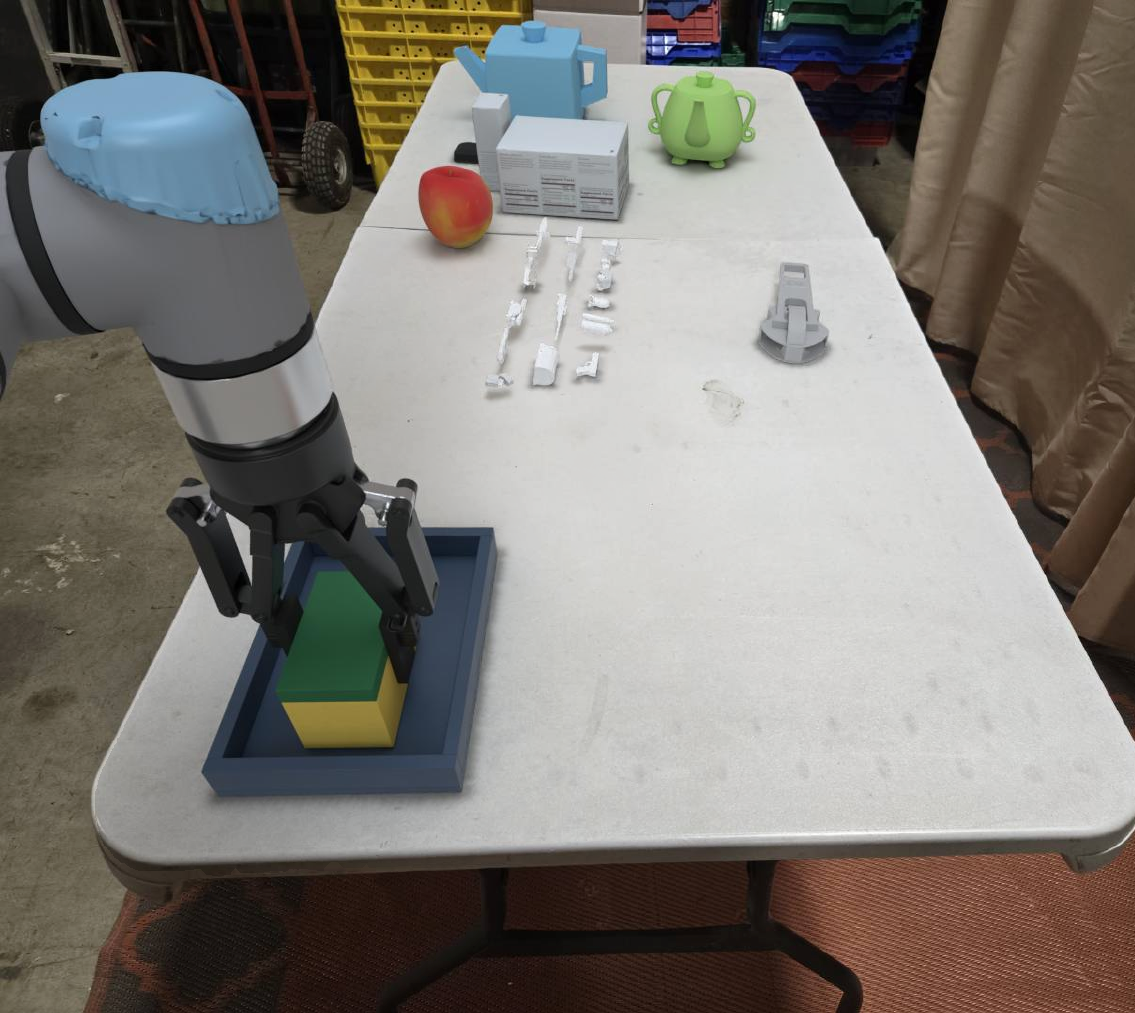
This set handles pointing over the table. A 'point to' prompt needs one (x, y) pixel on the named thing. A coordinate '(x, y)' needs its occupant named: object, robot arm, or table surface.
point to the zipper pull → (793, 320)
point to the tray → (431, 706)
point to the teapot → (702, 119)
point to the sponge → (341, 670)
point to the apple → (455, 205)
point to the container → (539, 70)
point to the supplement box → (563, 167)
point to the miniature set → (547, 353)
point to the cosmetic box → (490, 133)
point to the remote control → (466, 153)
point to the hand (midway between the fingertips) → (358, 667)
